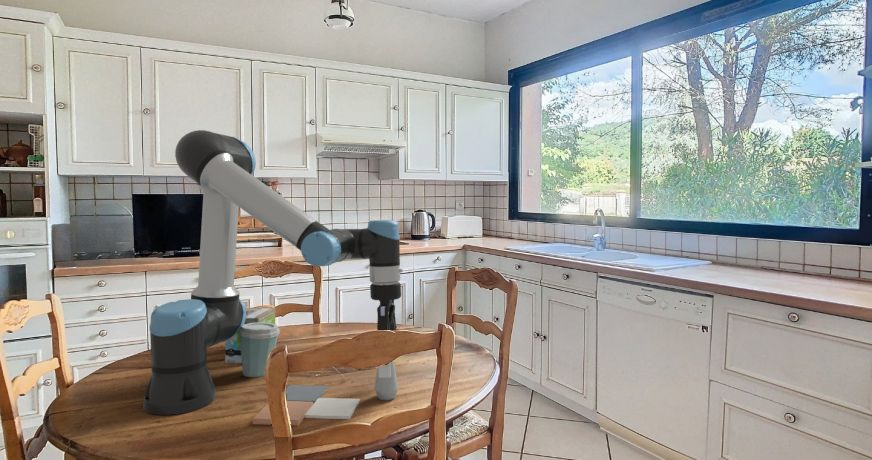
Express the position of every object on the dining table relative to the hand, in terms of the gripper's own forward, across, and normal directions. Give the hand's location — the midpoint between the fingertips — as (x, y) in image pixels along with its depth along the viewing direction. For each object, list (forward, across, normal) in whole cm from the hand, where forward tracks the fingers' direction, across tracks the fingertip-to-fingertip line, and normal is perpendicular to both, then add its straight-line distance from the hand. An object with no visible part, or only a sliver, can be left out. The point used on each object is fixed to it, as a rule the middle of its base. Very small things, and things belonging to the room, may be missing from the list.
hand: (388, 368), depth 123 cm
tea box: (+5, +27, +45) cm, 53 cm away
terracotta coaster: (+6, -13, +22) cm, 26 cm away
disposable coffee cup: (+6, +13, +38) cm, 40 cm away
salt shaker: (+7, -2, 0) cm, 7 cm away
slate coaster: (+7, -1, +21) cm, 22 cm away
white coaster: (+7, -10, +12) cm, 17 cm away
